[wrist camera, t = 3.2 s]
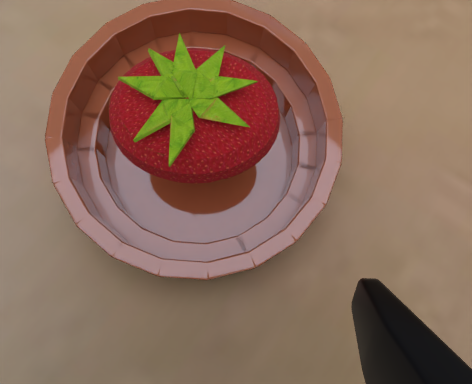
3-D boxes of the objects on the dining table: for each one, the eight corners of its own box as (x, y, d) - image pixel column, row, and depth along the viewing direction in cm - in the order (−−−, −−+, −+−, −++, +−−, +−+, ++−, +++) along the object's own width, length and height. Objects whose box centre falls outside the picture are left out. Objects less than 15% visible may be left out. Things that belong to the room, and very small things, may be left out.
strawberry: (267, 202, 23) (306, 153, 13) (132, 203, 22) (65, 153, 12) (264, 103, 24) (298, -13, 14) (135, 102, 23) (76, -17, 13)
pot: (364, 193, 24) (399, 176, 19) (156, 325, 22) (140, 341, 17) (238, 8, 25) (243, -48, 21) (36, 115, 23) (-7, 79, 19)
